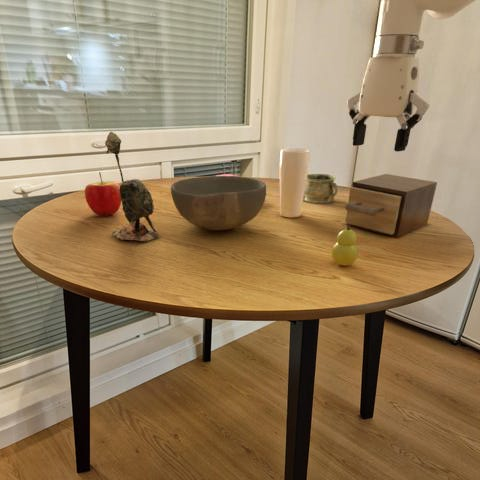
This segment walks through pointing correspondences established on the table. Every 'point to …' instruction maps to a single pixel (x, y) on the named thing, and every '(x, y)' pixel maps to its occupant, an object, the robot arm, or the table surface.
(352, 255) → the pear
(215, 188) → the bowl
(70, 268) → the table surface
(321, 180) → the vessel
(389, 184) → the cabinet
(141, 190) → the stone bird figurine
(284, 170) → the drinking glass
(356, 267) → the table surface
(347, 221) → the drawer
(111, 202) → the apple
